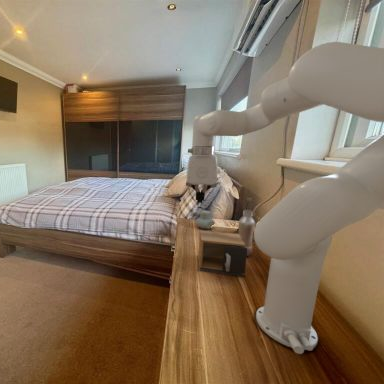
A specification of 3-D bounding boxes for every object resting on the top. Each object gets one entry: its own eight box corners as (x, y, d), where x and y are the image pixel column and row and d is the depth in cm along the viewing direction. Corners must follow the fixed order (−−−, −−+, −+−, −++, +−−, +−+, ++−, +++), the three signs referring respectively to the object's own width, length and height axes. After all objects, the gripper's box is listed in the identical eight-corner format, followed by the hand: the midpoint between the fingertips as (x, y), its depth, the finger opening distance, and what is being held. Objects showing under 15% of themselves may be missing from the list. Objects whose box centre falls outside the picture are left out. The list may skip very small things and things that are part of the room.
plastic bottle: (247, 250, 93) (252, 208, 89) (254, 258, 87) (260, 213, 83) (232, 250, 94) (236, 208, 90) (239, 257, 87) (243, 213, 83)
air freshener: (205, 223, 128) (206, 208, 127) (216, 227, 121) (217, 211, 119) (192, 227, 123) (193, 211, 121) (203, 231, 116) (205, 214, 114)
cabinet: (243, 276, 74) (246, 246, 72) (199, 270, 78) (201, 241, 76) (235, 260, 85) (238, 233, 82) (198, 256, 89) (199, 230, 87)
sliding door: (247, 280, 70) (250, 253, 68) (224, 276, 72) (226, 251, 71) (244, 272, 75) (246, 247, 73) (222, 269, 77) (224, 245, 75)
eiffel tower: (256, 234, 111) (262, 190, 106) (256, 241, 102) (261, 193, 97) (235, 230, 116) (239, 188, 112) (232, 237, 108) (237, 191, 103)
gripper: (180, 152, 70) (178, 203, 73) (228, 152, 66) (223, 206, 69) (181, 152, 77) (179, 198, 81) (224, 151, 73) (219, 201, 76)
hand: (199, 202), depth 75 cm, fingers closed
